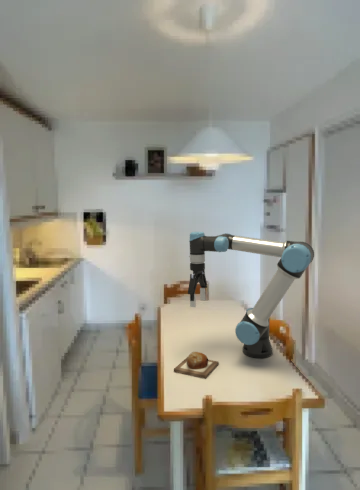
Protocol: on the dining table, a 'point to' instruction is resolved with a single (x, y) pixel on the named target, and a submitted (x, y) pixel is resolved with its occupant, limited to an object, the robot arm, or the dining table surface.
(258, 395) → the dining table surface
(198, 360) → the bread roll
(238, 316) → the dining table surface
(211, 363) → the walnut frame
